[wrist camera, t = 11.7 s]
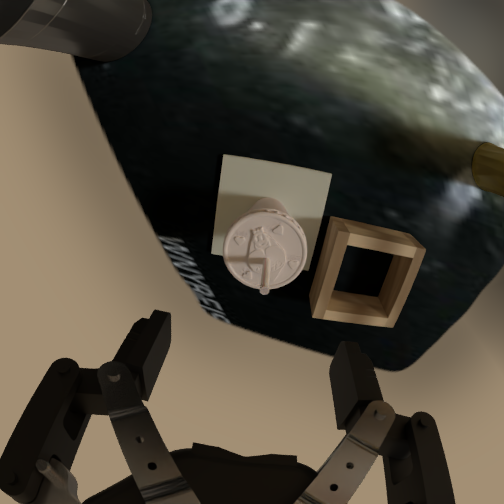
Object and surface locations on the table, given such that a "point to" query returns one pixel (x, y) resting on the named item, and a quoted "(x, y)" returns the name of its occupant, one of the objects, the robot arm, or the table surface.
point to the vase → (489, 168)
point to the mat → (270, 195)
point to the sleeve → (356, 305)
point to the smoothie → (265, 246)
